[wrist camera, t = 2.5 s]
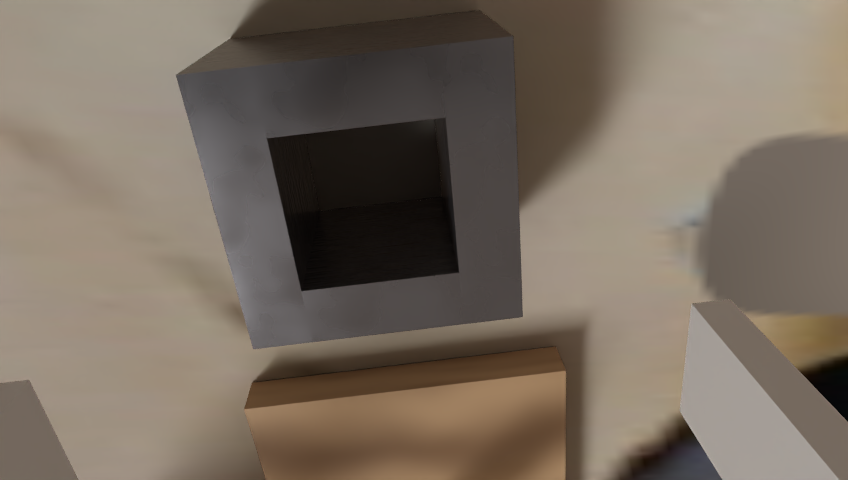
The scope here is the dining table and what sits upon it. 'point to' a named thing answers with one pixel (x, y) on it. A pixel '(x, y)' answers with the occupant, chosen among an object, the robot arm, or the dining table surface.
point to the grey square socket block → (373, 224)
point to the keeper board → (417, 421)
